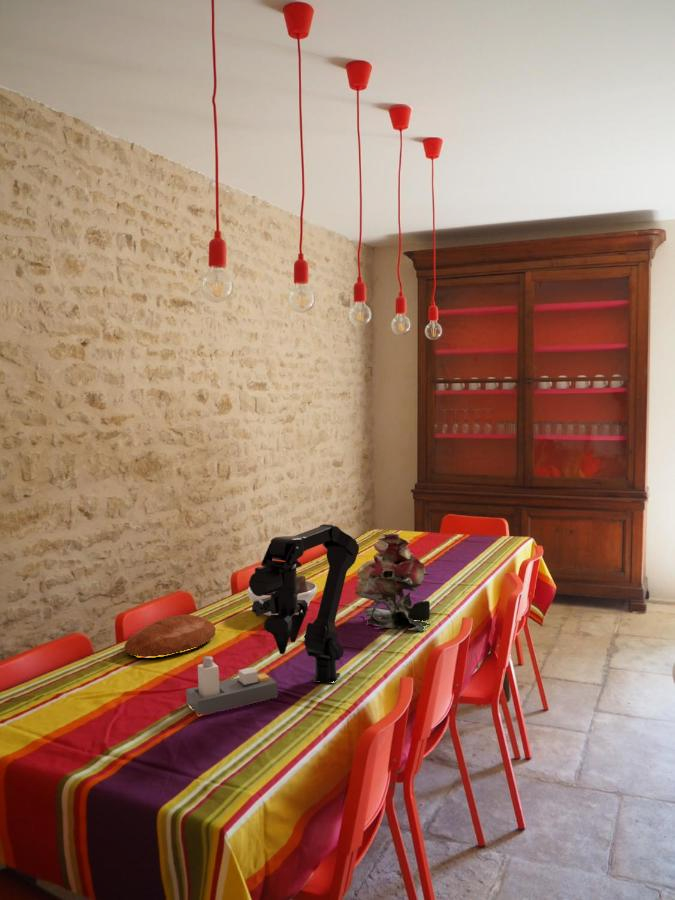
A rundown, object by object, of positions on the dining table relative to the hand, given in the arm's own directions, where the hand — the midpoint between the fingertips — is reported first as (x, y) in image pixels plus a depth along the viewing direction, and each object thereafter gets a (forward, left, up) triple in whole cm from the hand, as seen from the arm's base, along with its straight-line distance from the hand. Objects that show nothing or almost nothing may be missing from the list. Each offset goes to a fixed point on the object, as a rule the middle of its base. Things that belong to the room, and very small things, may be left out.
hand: (287, 647), depth 187 cm
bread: (-35, -49, -14) cm, 62 cm away
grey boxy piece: (+4, -14, -13) cm, 19 cm away
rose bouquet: (-70, +15, -13) cm, 73 cm away
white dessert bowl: (-73, -25, -13) cm, 78 cm away
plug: (+8, -18, -13) cm, 24 cm away
